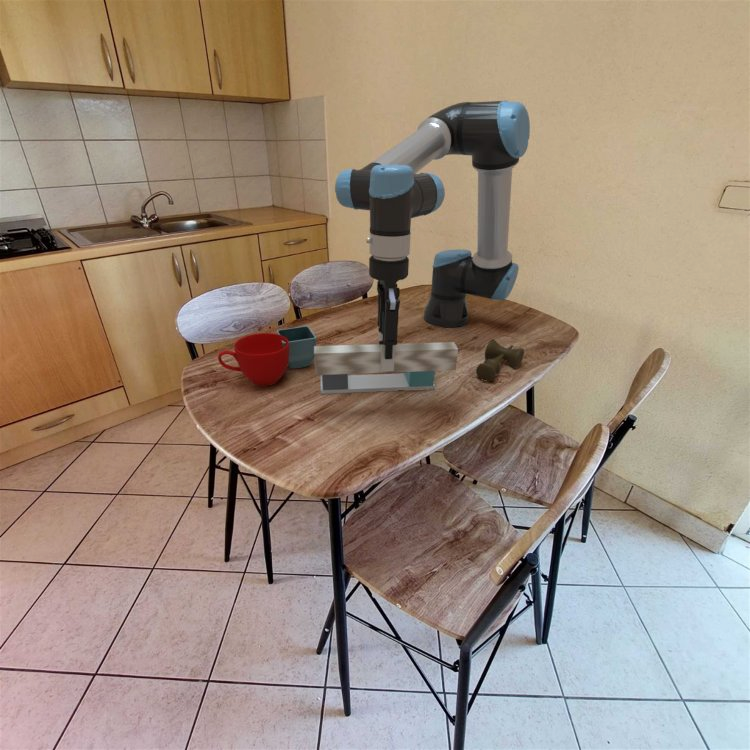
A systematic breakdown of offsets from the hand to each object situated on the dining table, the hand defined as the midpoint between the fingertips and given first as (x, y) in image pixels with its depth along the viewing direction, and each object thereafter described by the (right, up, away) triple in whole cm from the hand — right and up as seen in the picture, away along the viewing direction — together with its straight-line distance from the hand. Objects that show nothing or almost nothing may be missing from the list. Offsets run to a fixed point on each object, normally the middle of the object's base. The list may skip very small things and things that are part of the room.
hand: (385, 365), depth 93 cm
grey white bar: (0, -1, 0) cm, 1 cm away
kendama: (+31, 0, +26) cm, 41 cm away
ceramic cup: (-32, -4, +16) cm, 36 cm away
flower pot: (-23, +1, +24) cm, 34 cm away
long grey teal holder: (-2, -4, +16) cm, 16 cm away
